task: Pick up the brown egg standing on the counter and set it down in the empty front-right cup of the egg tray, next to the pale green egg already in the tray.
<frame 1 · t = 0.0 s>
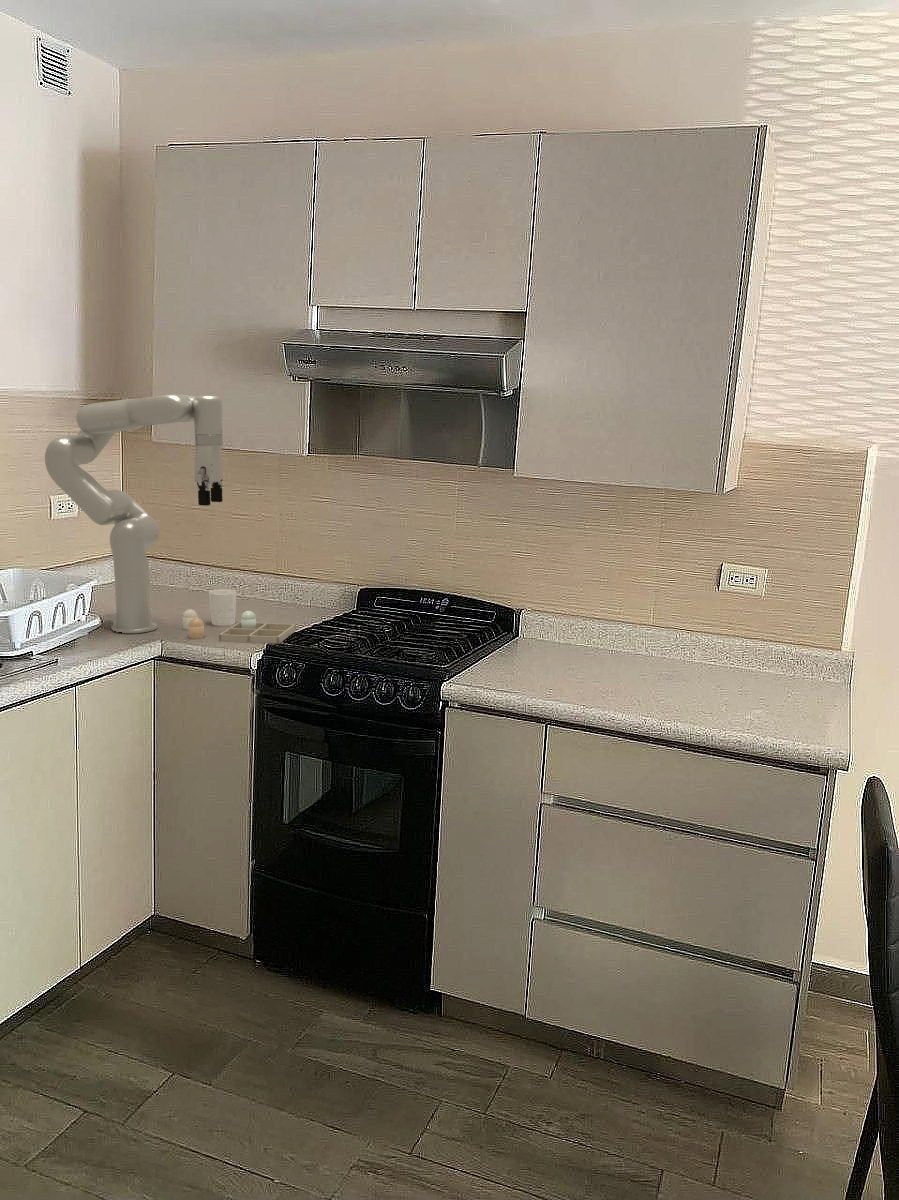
hand: (210, 503, 293), 37 cm above the countertop, tool pointing down, fingers open, 9 cm apart
green egg: (248, 631, 298), point 1 cm above the countertop, touching egg tray
white egg: (190, 630, 303), on the countertop
egg tray: (258, 637, 294), on the countertop
brown egg: (196, 639, 291), on the countertop
white cup: (223, 626, 310), on the countertop
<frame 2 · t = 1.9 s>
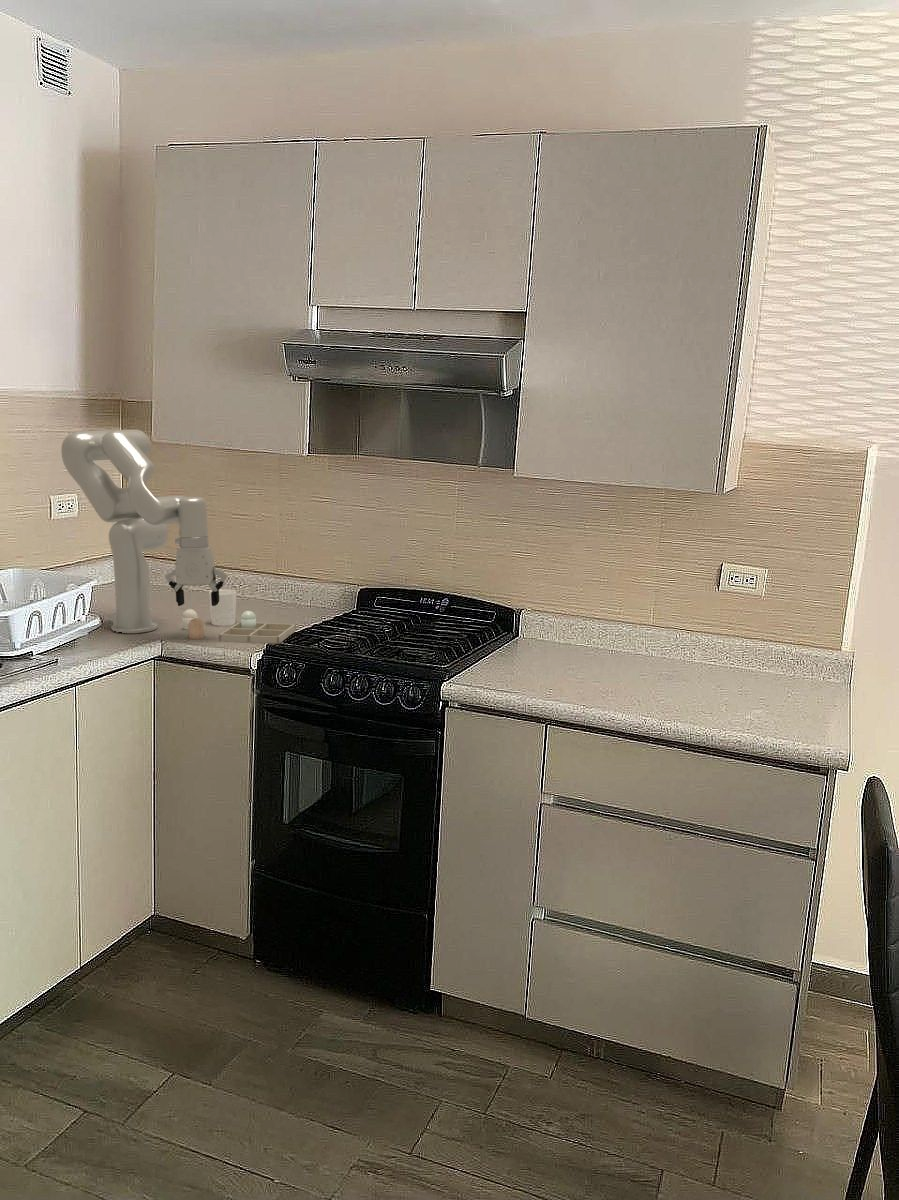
hand: (198, 605, 289), 10 cm above the countertop, tool pointing down, fingers open, 9 cm apart
nothing on the countertop moved.
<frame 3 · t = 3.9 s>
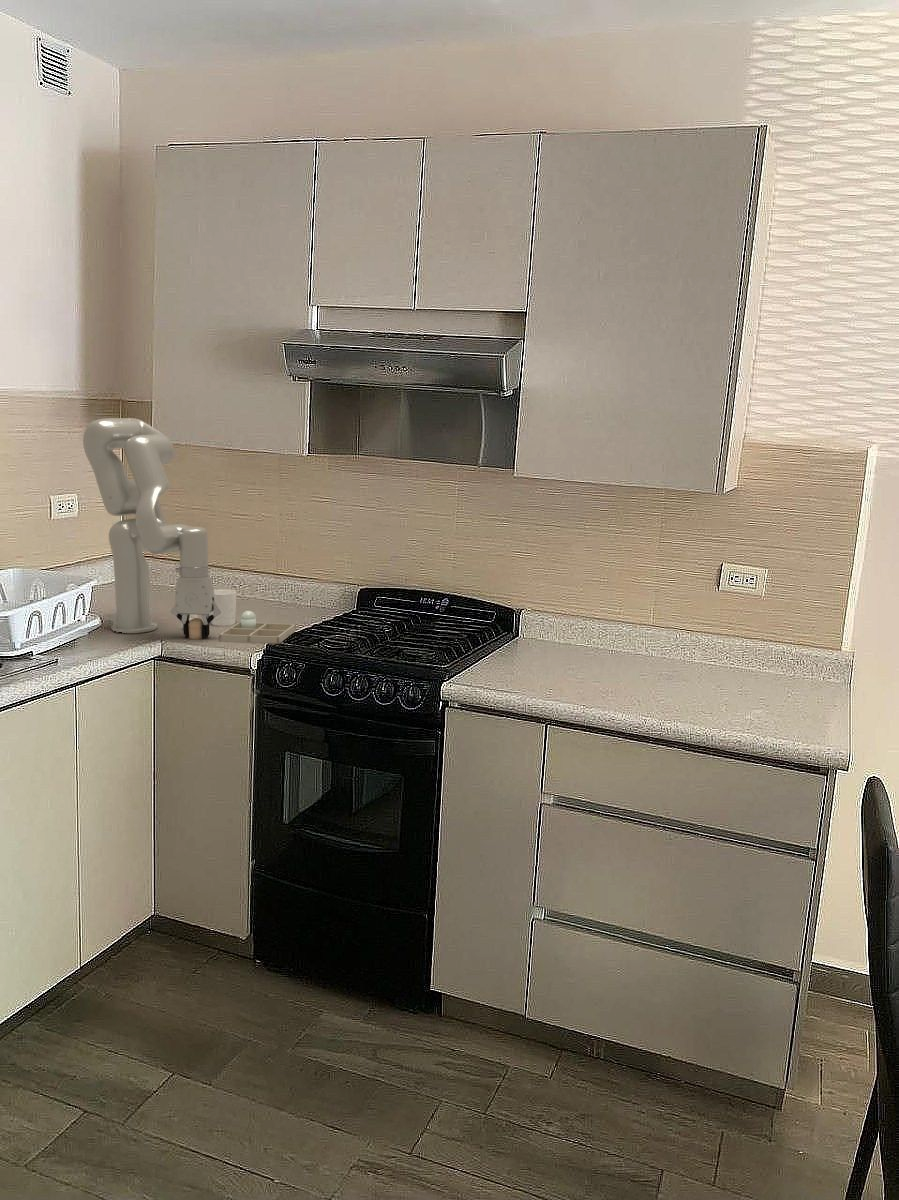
hand: (196, 637, 291), 1 cm above the countertop, tool pointing down, fingers closed on brown egg, 4 cm apart
brown egg: (196, 639, 291), on the countertop, touching gripper
everything else where it was.
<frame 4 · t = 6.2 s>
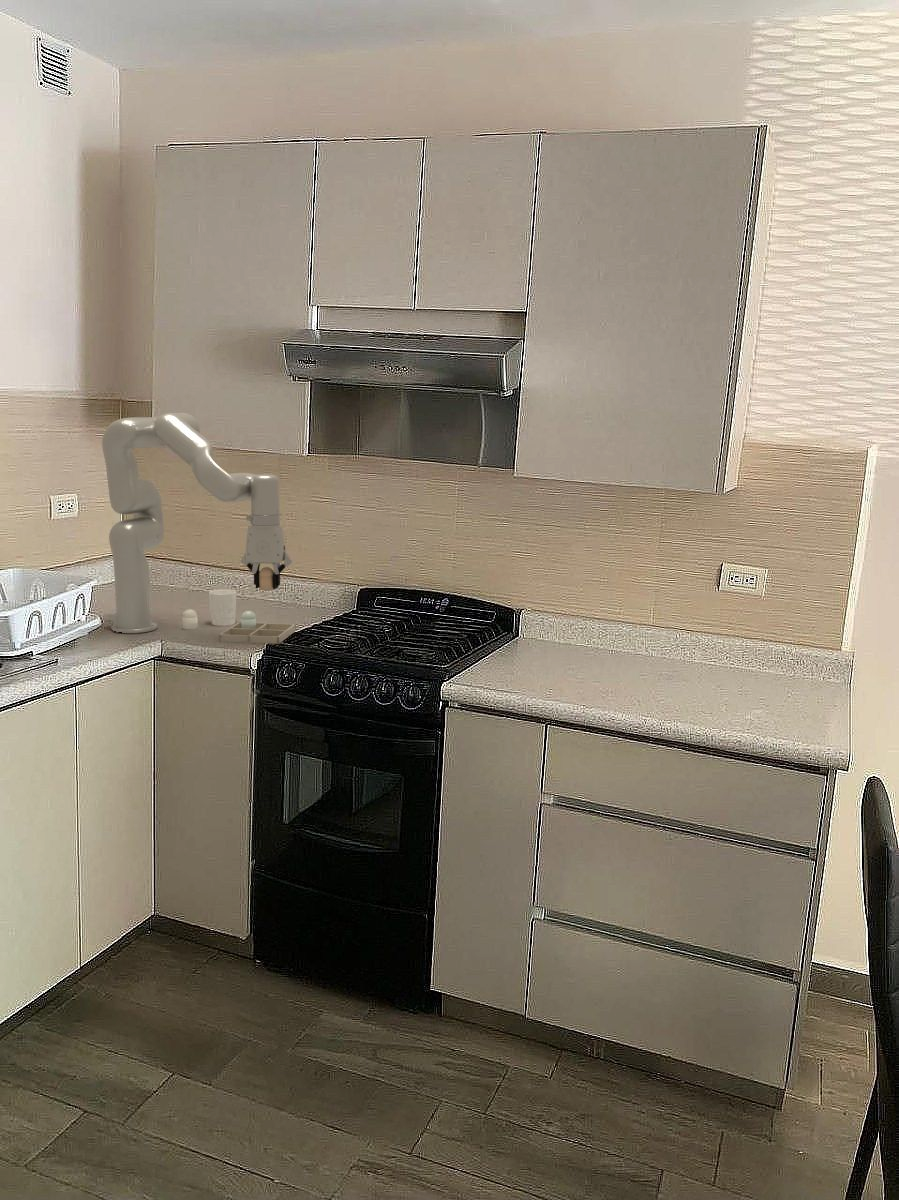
hand: (267, 587, 287), 15 cm above the countertop, tool pointing down, fingers closed on brown egg, 4 cm apart
brown egg: (267, 589, 287), point 15 cm above the countertop, touching gripper
everything else where it was.
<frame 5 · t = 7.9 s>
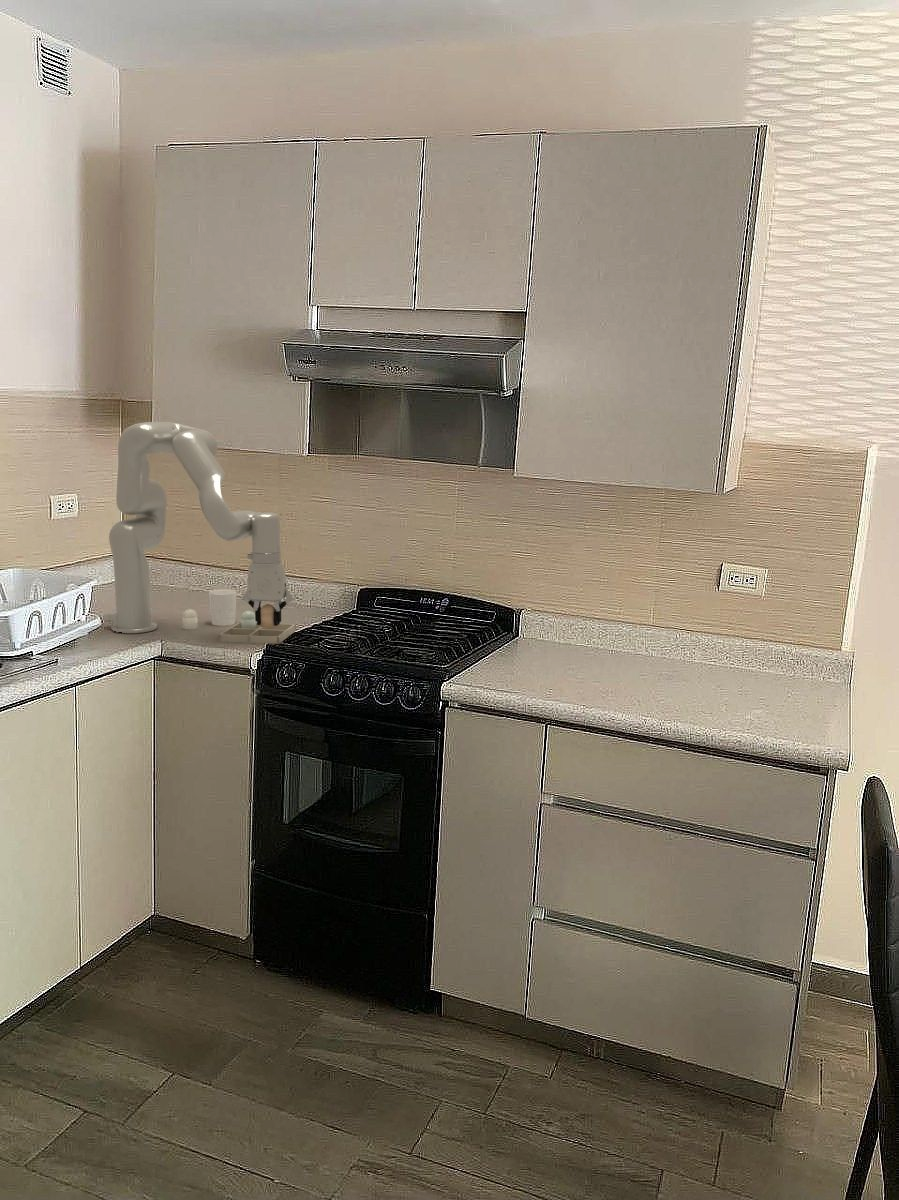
hand: (268, 623, 289), 5 cm above the countertop, tool pointing down, fingers closed on brown egg, 4 cm apart
brown egg: (268, 626, 289), point 4 cm above the countertop, touching gripper
everything else where it was.
when the fingers open (3 cm above the countertop, at t = 9.0 s): brown egg drops 2 cm, resting on egg tray.
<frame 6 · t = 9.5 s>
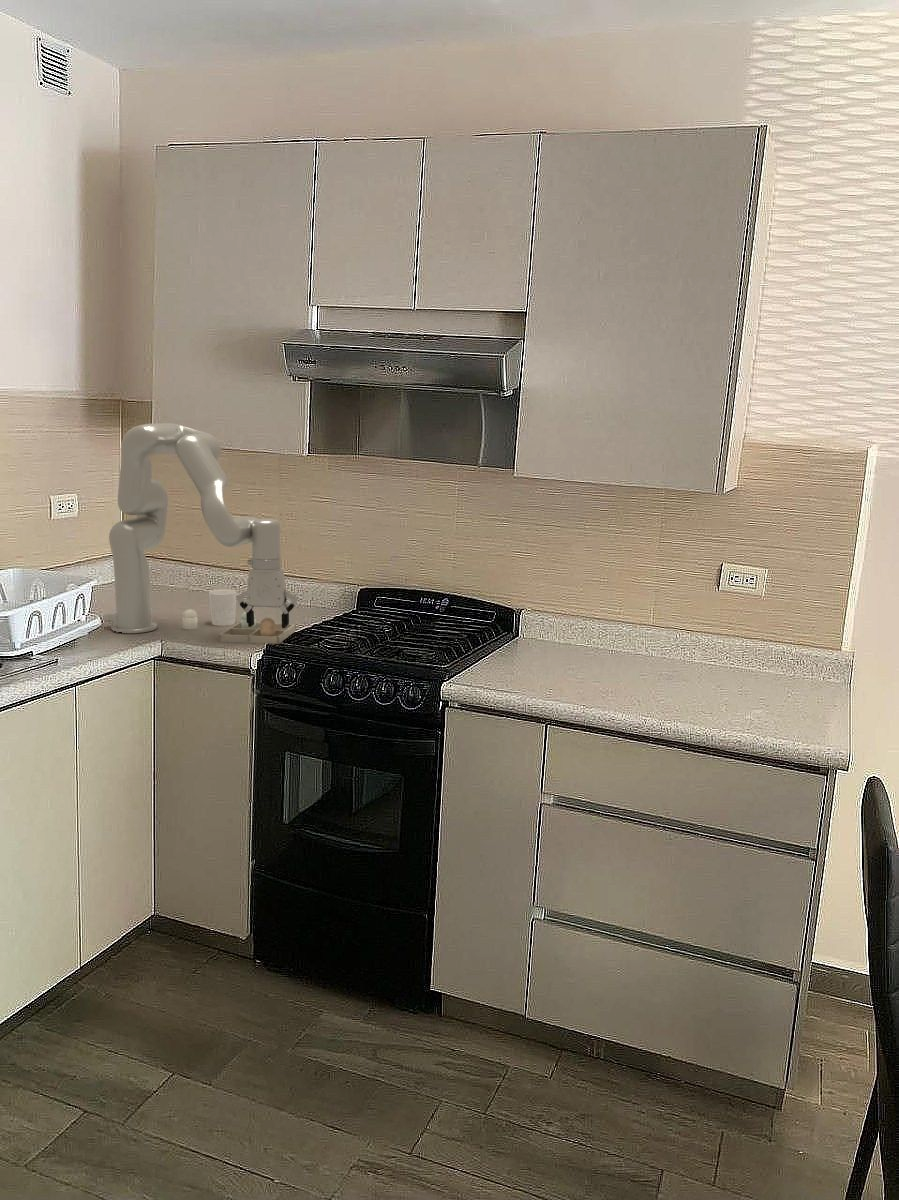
hand: (267, 626, 289), 4 cm above the countertop, tool pointing down, fingers open, 9 cm apart
brown egg: (268, 639, 289), point 1 cm above the countertop, touching egg tray
everything else where it was.
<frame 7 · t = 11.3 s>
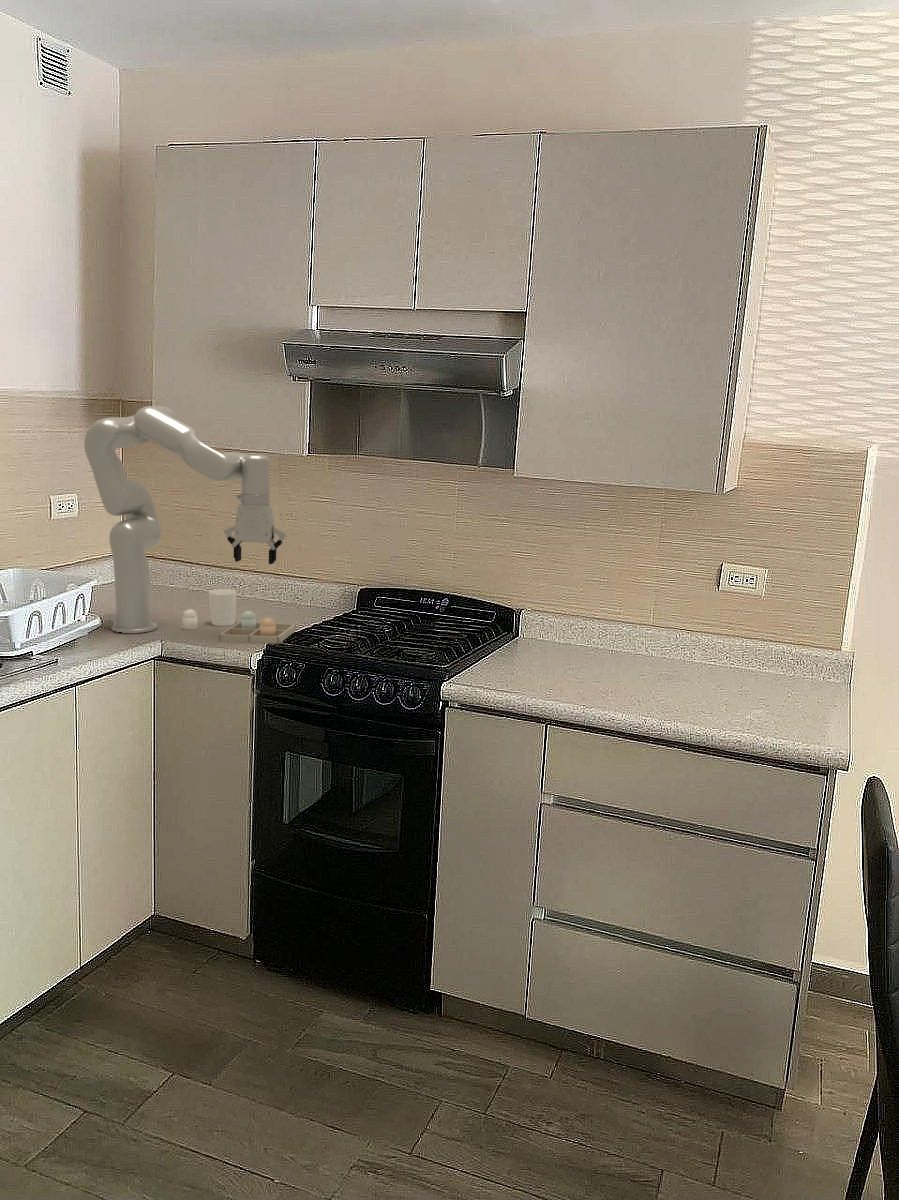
hand: (254, 562, 291), 21 cm above the countertop, tool pointing down, fingers open, 9 cm apart
nothing on the countertop moved.
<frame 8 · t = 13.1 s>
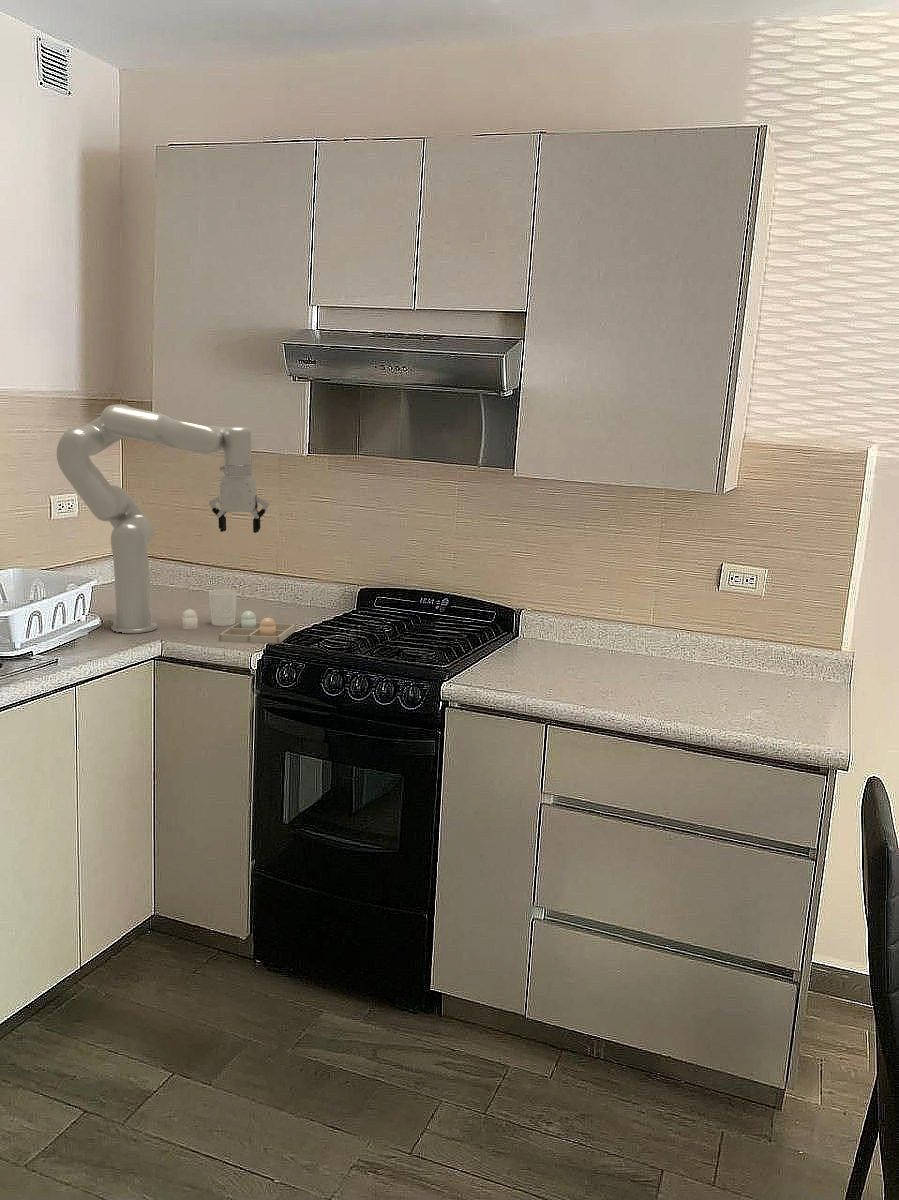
hand: (239, 531, 299), 28 cm above the countertop, tool pointing down, fingers open, 9 cm apart
nothing on the countertop moved.
at the end: brown egg 0.1 cm from the target spot on the egg tray, point 0.6 cm above the egg tray's base; the gripper is holding nothing; green egg 0.1 cm from the target spot on the egg tray, point 0.6 cm above the egg tray's base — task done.
